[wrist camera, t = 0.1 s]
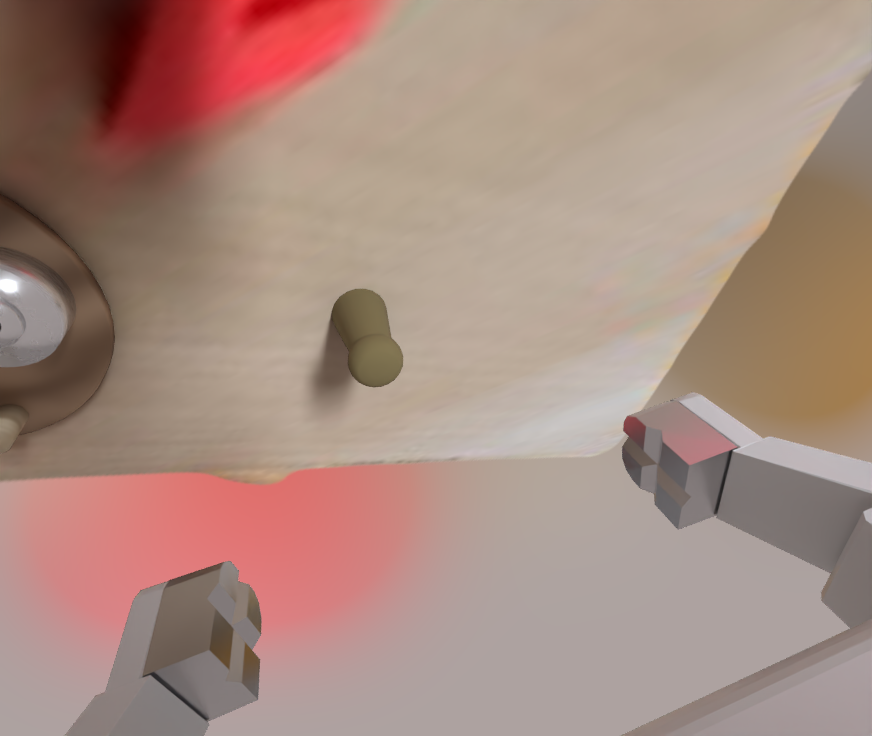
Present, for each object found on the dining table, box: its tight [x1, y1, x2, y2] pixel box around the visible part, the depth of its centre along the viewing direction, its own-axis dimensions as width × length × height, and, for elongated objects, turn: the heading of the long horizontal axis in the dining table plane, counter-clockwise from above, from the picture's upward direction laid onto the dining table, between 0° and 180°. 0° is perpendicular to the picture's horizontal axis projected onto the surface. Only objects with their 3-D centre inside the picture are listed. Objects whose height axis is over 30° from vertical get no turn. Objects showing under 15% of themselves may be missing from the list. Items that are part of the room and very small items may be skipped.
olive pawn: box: [332, 289, 403, 387], centre depth 46 cm, size 6×6×11 cm
